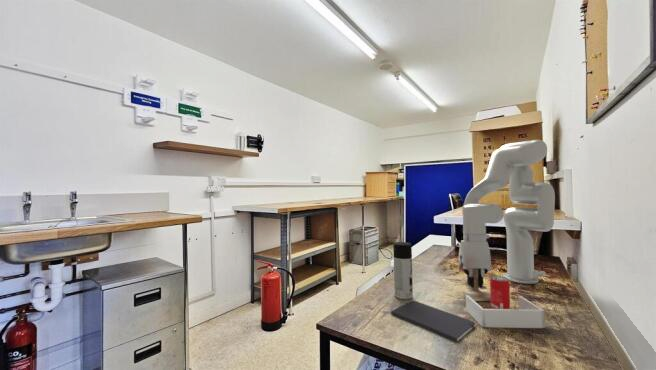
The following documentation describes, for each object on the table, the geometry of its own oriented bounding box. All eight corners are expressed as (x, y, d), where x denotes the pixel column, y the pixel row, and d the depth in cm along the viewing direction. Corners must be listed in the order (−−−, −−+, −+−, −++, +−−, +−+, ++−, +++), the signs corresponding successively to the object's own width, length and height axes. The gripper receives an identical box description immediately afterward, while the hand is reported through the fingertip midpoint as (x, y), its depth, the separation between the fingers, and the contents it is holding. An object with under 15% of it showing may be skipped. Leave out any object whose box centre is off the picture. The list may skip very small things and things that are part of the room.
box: (521, 311, 89) (520, 295, 89) (545, 328, 78) (545, 310, 78) (466, 310, 90) (465, 295, 90) (482, 327, 79) (482, 310, 79)
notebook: (391, 315, 88) (457, 344, 72) (391, 310, 88) (457, 338, 72) (412, 304, 96) (476, 327, 80) (412, 300, 96) (476, 322, 80)
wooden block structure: (487, 292, 104) (486, 263, 105) (501, 301, 96) (499, 269, 96) (455, 292, 105) (454, 263, 106) (466, 300, 96) (465, 269, 97)
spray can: (413, 300, 98) (412, 245, 98) (394, 299, 99) (393, 244, 100) (411, 293, 105) (411, 241, 105) (393, 292, 106) (393, 241, 106)
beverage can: (487, 312, 88) (486, 275, 88) (502, 312, 88) (502, 275, 88) (497, 320, 83) (496, 281, 83) (514, 319, 83) (513, 280, 83)
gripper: (490, 235, 105) (491, 283, 105) (448, 236, 106) (449, 282, 106) (502, 239, 98) (503, 290, 98) (456, 239, 99) (457, 290, 98)
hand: (475, 286), depth 102 cm, fingers closed on wooden block structure, 2 cm apart
